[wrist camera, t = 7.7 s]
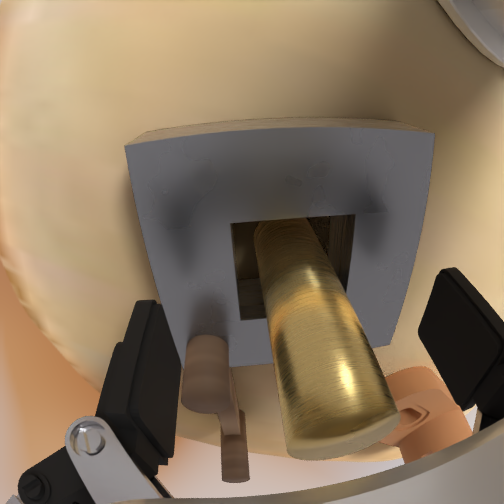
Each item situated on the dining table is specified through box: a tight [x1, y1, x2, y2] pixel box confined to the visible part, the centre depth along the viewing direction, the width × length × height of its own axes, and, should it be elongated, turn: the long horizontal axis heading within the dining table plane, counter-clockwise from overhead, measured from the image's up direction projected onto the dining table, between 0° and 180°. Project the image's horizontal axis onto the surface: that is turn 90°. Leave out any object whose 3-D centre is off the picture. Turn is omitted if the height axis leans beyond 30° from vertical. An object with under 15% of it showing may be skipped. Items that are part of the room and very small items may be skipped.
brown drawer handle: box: [181, 335, 250, 483], centre depth 17 cm, size 14×2×6 cm, turn 3°
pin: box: [254, 217, 401, 460], centre depth 10 cm, size 3×3×10 cm
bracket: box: [378, 367, 473, 464], centre depth 23 cm, size 18×8×7 cm, turn 46°
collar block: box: [125, 117, 435, 369], centre depth 13 cm, size 11×11×3 cm
